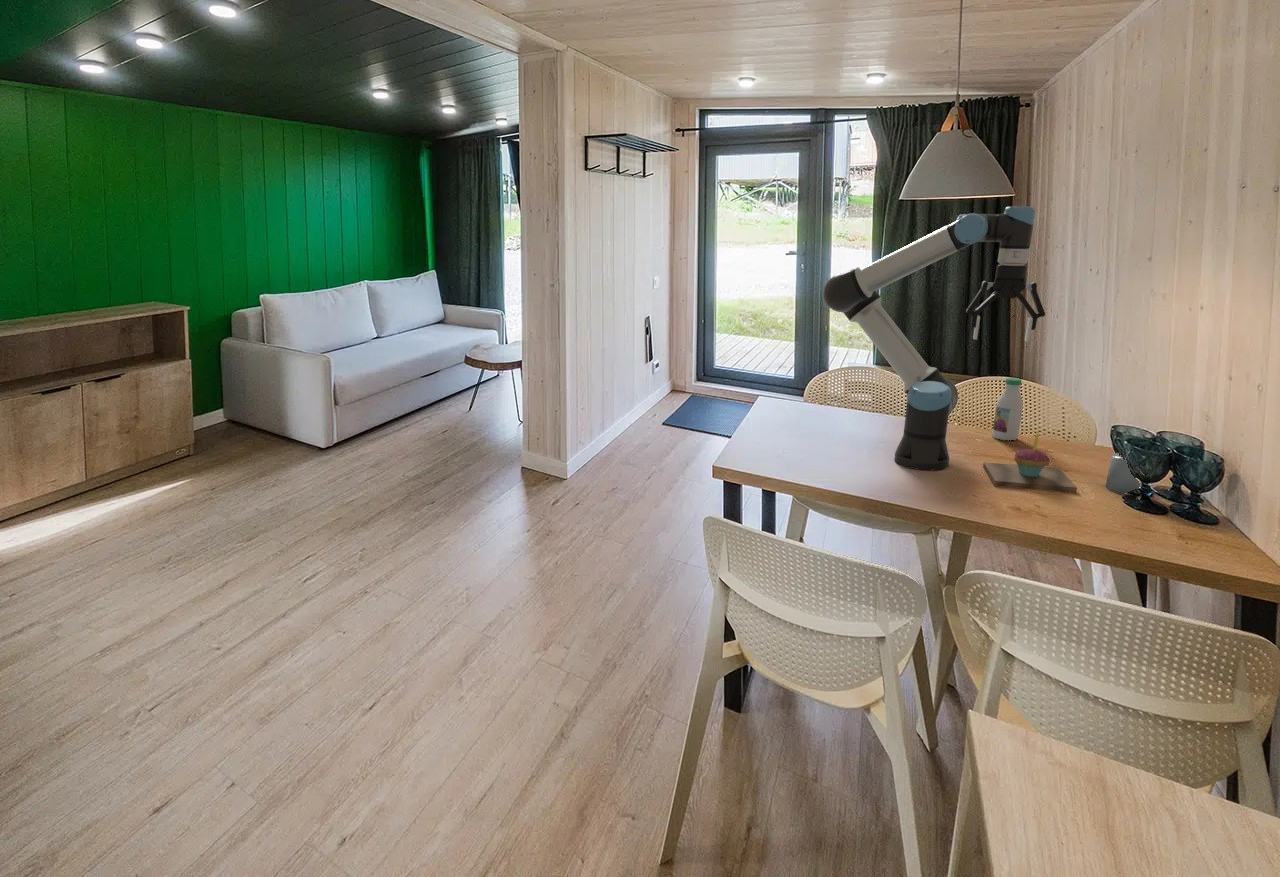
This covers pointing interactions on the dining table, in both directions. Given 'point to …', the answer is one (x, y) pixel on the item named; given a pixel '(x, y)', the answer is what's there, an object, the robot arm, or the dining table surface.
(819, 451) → the dining table surface
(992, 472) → the walnut board
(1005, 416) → the milk bottle
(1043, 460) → the cupcake
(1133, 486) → the grey rounded block
